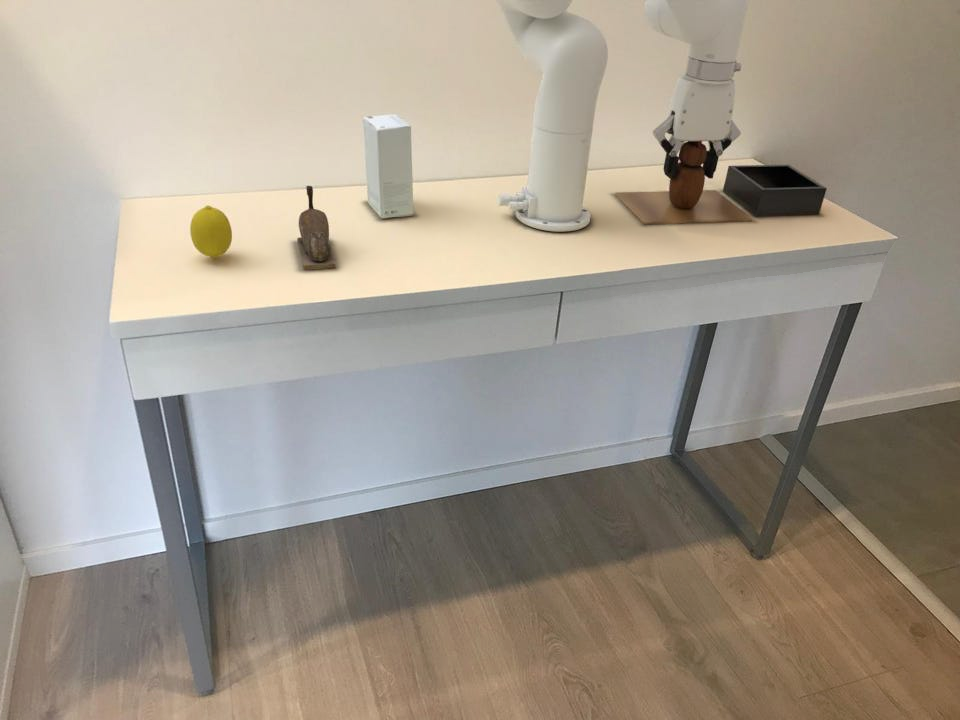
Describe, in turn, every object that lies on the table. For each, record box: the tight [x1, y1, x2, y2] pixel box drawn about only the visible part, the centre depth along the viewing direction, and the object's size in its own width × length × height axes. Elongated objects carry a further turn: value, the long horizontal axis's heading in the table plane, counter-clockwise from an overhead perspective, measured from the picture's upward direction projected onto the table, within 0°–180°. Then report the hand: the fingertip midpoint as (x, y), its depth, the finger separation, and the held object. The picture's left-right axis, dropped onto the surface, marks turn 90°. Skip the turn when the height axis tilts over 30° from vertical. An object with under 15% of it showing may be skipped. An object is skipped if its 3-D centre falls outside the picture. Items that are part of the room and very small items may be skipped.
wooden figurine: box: [668, 141, 708, 209], centre depth 138 cm, size 7×6×15 cm
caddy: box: [722, 164, 827, 218], centre depth 145 cm, size 13×13×5 cm
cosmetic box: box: [362, 113, 414, 219], centre depth 130 cm, size 8×6×15 cm
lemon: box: [189, 205, 233, 260], centre depth 112 cm, size 6×6×8 cm
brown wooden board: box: [615, 189, 753, 225], centre depth 142 cm, size 20×14×1 cm
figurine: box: [296, 185, 336, 271], centre depth 116 cm, size 14×4×9 cm, turn 16°
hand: (688, 175), depth 139 cm, fingers open, 6 cm apart
